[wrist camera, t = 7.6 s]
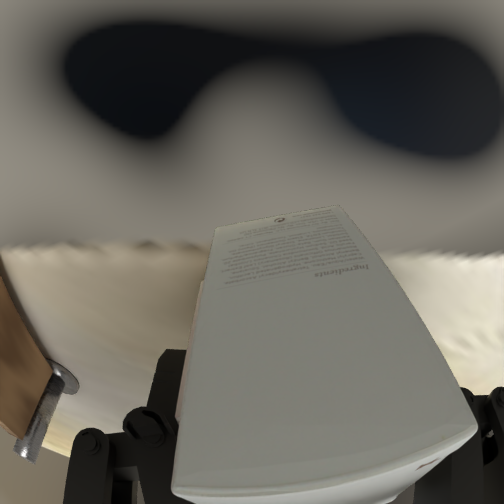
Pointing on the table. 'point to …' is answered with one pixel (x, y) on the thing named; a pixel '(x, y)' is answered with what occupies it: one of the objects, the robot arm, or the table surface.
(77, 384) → the pivot post
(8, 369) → the gate
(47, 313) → the table surface
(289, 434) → the small box
